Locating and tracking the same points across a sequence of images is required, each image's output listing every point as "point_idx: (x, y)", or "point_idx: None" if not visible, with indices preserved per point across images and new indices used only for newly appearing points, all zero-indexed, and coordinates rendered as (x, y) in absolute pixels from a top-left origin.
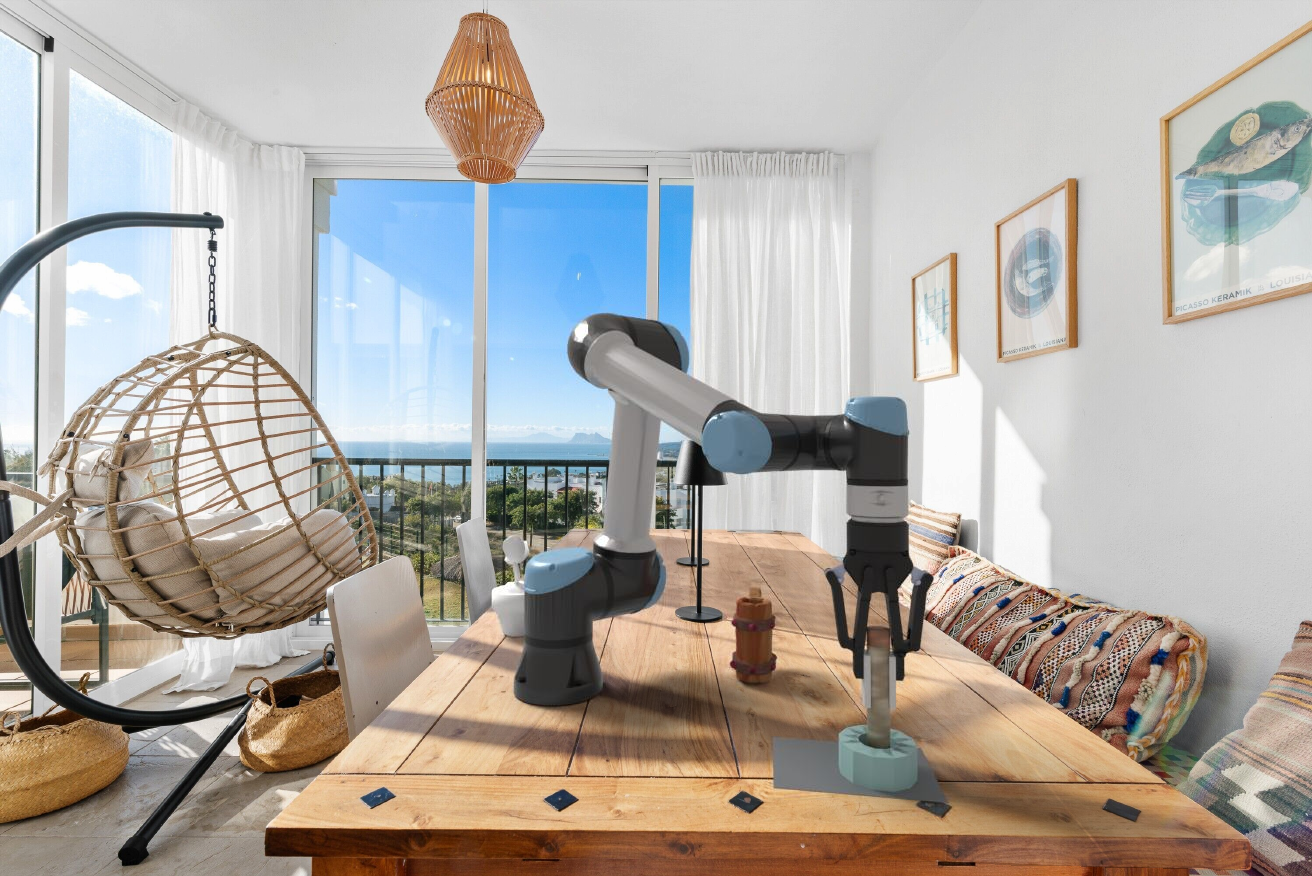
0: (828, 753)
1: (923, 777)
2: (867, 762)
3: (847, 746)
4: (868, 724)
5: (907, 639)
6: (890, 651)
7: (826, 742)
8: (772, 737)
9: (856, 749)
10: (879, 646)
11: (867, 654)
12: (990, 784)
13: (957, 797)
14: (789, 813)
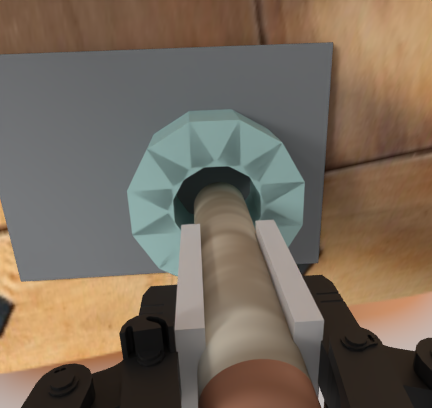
0: (113, 121)
1: None
2: None
3: (147, 253)
4: None
5: (426, 400)
6: (314, 334)
7: (106, 59)
8: None
9: (166, 262)
10: None
11: (197, 394)
12: (421, 162)
13: (342, 221)
14: (62, 325)
